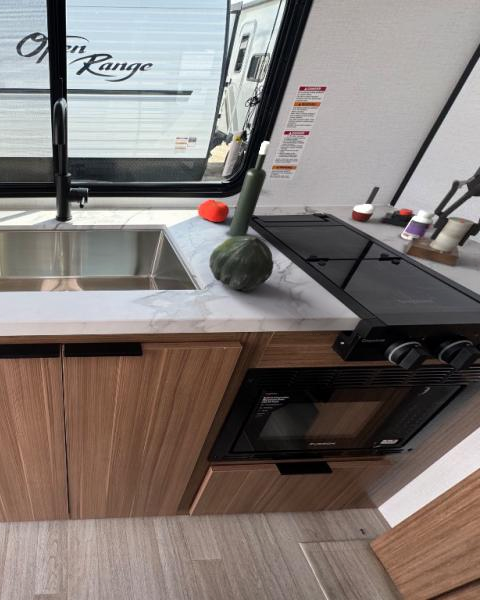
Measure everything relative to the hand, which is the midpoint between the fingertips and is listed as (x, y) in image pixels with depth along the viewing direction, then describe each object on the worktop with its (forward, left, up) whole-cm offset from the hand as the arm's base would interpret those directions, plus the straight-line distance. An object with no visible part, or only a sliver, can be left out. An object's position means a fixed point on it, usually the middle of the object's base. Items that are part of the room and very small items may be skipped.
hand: (445, 241), depth 100 cm
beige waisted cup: (0, 0, -2) cm, 2 cm away
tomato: (+65, +20, -5) cm, 69 cm away
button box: (+10, -28, -5) cm, 30 cm away
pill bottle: (+6, -13, -5) cm, 16 cm away
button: (+10, -28, -2) cm, 30 cm away
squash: (+41, +61, -5) cm, 73 cm away
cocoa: (+22, -21, -6) cm, 31 cm away
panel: (+1, 0, -5) cm, 6 cm away
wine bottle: (+52, +28, -5) cm, 60 cm away
